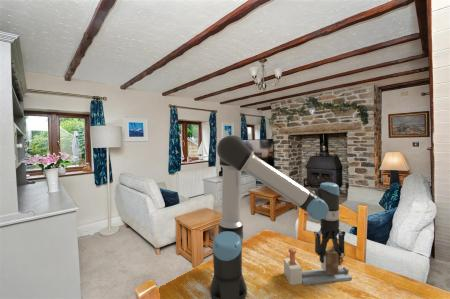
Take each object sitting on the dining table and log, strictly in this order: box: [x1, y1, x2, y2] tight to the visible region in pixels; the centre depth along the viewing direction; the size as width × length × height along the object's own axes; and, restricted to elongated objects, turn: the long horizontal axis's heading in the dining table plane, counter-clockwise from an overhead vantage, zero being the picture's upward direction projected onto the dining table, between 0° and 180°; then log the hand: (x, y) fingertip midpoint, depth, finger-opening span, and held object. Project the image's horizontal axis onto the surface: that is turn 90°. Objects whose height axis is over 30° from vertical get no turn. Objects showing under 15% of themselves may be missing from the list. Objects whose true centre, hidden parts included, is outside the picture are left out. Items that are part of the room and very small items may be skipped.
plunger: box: [288, 247, 297, 264], centre depth 95 cm, size 3×3×6 cm
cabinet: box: [283, 257, 303, 286], centre depth 96 cm, size 5×8×7 cm, turn 5°
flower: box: [327, 245, 347, 262], centre depth 108 cm, size 10×9×8 cm
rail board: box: [302, 266, 353, 285], centre depth 96 cm, size 22×7×3 cm, turn 95°
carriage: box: [325, 246, 339, 275], centre depth 96 cm, size 5×5×10 cm
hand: (329, 268), depth 96 cm, fingers closed on carriage, 5 cm apart
